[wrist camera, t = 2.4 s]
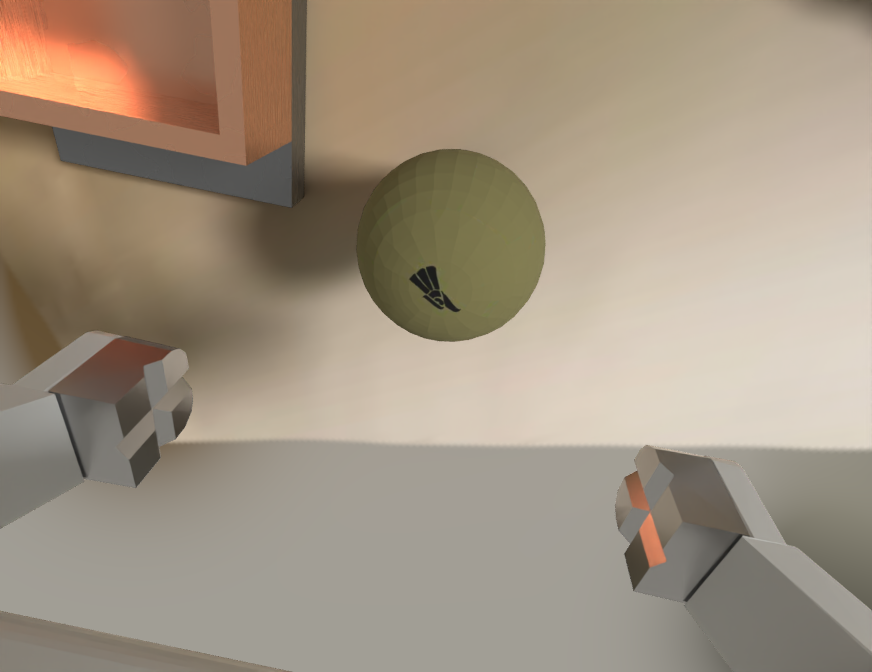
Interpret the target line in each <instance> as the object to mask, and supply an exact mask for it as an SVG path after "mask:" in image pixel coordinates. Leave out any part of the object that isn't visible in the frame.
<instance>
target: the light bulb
mask: <svg viewBox="0 0 872 672" xmlns="http://www.w3.org/2000/svg"><path fill="white" fill-rule="evenodd" d="M356 250H357V257H358V265H359V270H360V273H361V276H362V279H363V282H364V285H365V287H366V289H367V291H368V293H369V294H370V296H371V298H372V300H373V301H374V302H375V304H376V305H377V306H378V307H379V308H380V309H381V311H382V312H383V313H384V314H385V315H386V316H387V317H389V318H390V319H391V320H392V321H393V322H394V323H396V324H397V325H398V326H400V327H402V328H403V329H405V330H407V331H408V332H410V333H412V334H415V335H418V336H420V337H423V338H426V339H431V340H436V341H450V342H455V341H463V340H469V339H473V338H476V337H479V336H482V335H485V334H488V333H490V332H492V331H494V330H496V329H498V328H500V327H502V326H503V325H504V324H505V323H507V322H508V321H509V320H510V319H512V318H513V317H514V316H515V315H516V314H517V313H518V312H519V310H520V309H521V308H522V307H523V306H524V305H525V303H526V302H527V301H528V300H529V298H530V296H531V294H532V293H533V291H534V289H535V287H536V285H537V283H538V280H539V277H540V274H541V271H542V268H543V264H544V255H545V231H544V226H543V222H542V219H541V216H540V213H539V210H538V207H537V204H536V202H535V200H534V198H533V197H532V195H531V193H530V192H529V190H528V188H527V187H526V185H525V184H524V183H523V182H522V181H521V180H520V179H519V178H518V177H517V176H516V175H515V174H514V173H513V172H512V171H511V170H510V169H508V168H507V167H505V166H504V165H502V164H501V163H499V162H498V161H496V160H494V159H492V158H490V157H488V156H485V155H483V154H480V153H476V152H472V151H467V150H461V149H442V150H436V151H432V152H427V153H423V154H420V155H418V156H416V157H413V158H411V159H409V160H407V161H405V162H403V163H402V164H400V165H399V166H398V167H396V168H395V169H394V170H392V171H391V172H390V173H389V174H388V175H387V176H386V177H385V178H384V179H383V180H382V181H381V182H380V183H379V184H378V186H377V187H376V188H375V189H374V191H373V193H372V194H371V196H370V198H369V200H368V202H367V204H366V205H365V207H364V210H363V213H362V216H361V220H360V223H359V227H358V234H357V249H356Z"/></svg>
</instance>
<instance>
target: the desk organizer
mask: <svg viewBox="0 0 872 672" xmlns="http://www.w3.org/2000/svg"><path fill="white" fill-rule="evenodd" d="M306 14H307V0H0V116H4V117H9V118H14V119H19V120H24V121H29V122H33V123H38V124H43V125H48V126H52V128H53V132H54V136H55V140H56V143H57V147H58V151H59V155H60V159H61V161H66V162H70V163H75V164H80V165H85V166H90V167H95V168H100V169H105V170H110V171H115V172H119V173H124V174H129V175H134V176H139V177H144V178H149V179H154V180H159V181H164V182H168V183H173V184H178V185H183V186H188V187H193V188H198V189H203V190H208V191H212V192H217V193H222V194H227V195H232V196H237V197H242V198H247V199H252V200H257V201H261V202H266V203H271V204H276V205H281V206H286V207H291V208H292V207H293V206H294V205H295V204H296V203H298V202H299V201H300V200H301V199H302V198H303V197H304V153H305V84H306Z"/></svg>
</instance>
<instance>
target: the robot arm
mask: <svg viewBox="0 0 872 672" xmlns="http://www.w3.org/2000/svg"><path fill="white" fill-rule="evenodd" d="M188 369H189V366H188V360H187V355H186V353H185V352H184V351H182V350H181V349H179V348H175V347H170V346H166V345H162V344H157V343H153V342H149V341H144V340H140V339H136V338H131V337H127V336H120V335H116V334H112V333H107V332H103V331H98V330H97V331H90V332H86V333H85V334H83V335H82V336H80V337H79V338H78V339H76V340H75V341H73V342H72V343H71V344H69V345H68V346H66V347H65V348H63V349H62V350H61V351H59V352H58V353H56V354H55V355H53V356H52V357H51V358H49V359H48V360H46V361H45V362H44V363H42V364H41V365H39V366H38V367H36V368H35V369H34V370H32V371H31V372H29V373H28V374H26V375H25V376H24V377H22V378H21V379H20V380H18V381H17V382H15V383H14V384H12V385H9V384H4V383H0V529H1V528H3V527H4V526H6V525H8V524H10V523H11V522H13V521H15V520H17V519H18V518H20V517H22V516H24V515H26V514H27V513H29V512H31V511H33V510H35V509H36V508H38V507H40V506H42V505H44V504H45V503H47V502H49V501H50V500H52V499H54V498H56V497H58V496H59V495H61V494H63V493H65V492H67V491H69V490H70V489H72V488H74V487H76V486H77V485H79V484H81V483H83V482H84V479H88V480H94V481H100V482H106V483H111V484H116V485H122V486H127V487H133V488H136V487H137V486H138V485H139V484H140V482H141V481H142V480H143V479H144V477H145V476H146V475H147V474H148V473H149V471H150V470H151V469H152V468H153V467H154V465H155V464H156V463H157V462H158V460H159V459H160V448H159V447H160V446H162V445H164V444H166V443H168V442H170V441H173V440H175V439H176V438H177V437H178V435H179V434H180V433H181V432H182V430H183V429H184V428H185V426H186V424H187V421H188V419H189V416H190V414H191V412H192V404H193V395H192V388H191V387H190V386H189V384H188V383H187V382H186V381H185V380H184V378H183V377H182V376H183V375H184V374H185V372H186V371H187V370H188ZM634 461H635V464H636V468H637V471H636V472H634V473H632V474H630V475H628V476H626V477H625V478H624V479H623V481H622V483H621V485H620V487H619V489H618V492H617V498H616V504H615V512H616V520H617V525H618V530H619V531H620V533H621V534H622V535H623V536H624V537H625V538H626V540H627V541H628V542H629V543H630V545H629V547H628V548H627V550H626V552H625V553H624V555H625V559H626V563H627V567H628V571H629V575H630V579H631V582H632V587H633V591H635V592H639V593H643V594H648V595H652V596H656V597H660V598H665V599H669V600H673V601H677V602H682V603H686V604H685V605H684V606H685V608H686V609H687V610H688V612H689V613H690V614H691V615H692V617H693V619H694V620H695V621H696V623H697V624H698V625H699V627H700V628H701V629H702V631H703V632H704V633H705V635H706V636H707V637H708V639H709V640H710V642H711V643H712V644H713V646H714V647H715V648H716V650H717V651H718V652H719V654H720V655H721V657H722V658H723V659H724V661H725V662H726V663H727V665H728V666H729V667H730V669H731V670H732V671H733V672H872V610H870V609H869V608H868V607H867V606H866V605H864V604H863V603H862V602H861V601H860V600H859V599H857V598H856V597H855V596H854V595H852V594H851V593H850V592H849V591H848V590H847V589H846V588H844V587H843V586H842V585H841V584H840V583H838V582H837V581H836V580H835V579H834V578H833V577H831V576H830V575H829V574H828V573H826V572H825V571H824V570H823V569H822V568H821V567H820V566H818V565H817V564H816V563H815V562H814V561H812V560H811V559H810V558H809V557H808V556H807V555H805V554H804V553H803V552H802V551H801V550H799V549H798V548H797V547H794V546H790V545H786V543H785V541H784V540H783V538H782V536H781V534H780V533H779V531H778V529H777V527H776V526H775V524H774V522H773V520H772V518H771V517H770V515H769V514H768V511H767V510H766V508H765V506H764V504H763V503H762V501H761V499H760V497H759V496H758V494H757V492H756V490H755V489H754V487H753V485H752V483H751V482H750V480H749V478H748V476H747V475H746V473H745V471H744V469H743V468H742V467H741V466H740V465H739V464H738V463H736V462H735V461H731V460H725V459H720V458H715V457H709V456H700V455H696V454H690V453H686V452H680V451H676V450H671V449H666V448H661V447H656V446H650V445H646V446H644V447H643V448H642V449H641V450H640V451H639V453H638V455H637V456H636V458H635V459H634ZM0 672H291V671H286V670H281V669H276V668H272V667H267V666H262V665H257V664H253V663H248V662H243V661H238V660H233V659H229V658H224V657H219V656H214V655H210V654H205V653H200V652H195V651H190V650H185V649H181V648H176V647H171V646H166V645H161V644H157V643H152V642H147V641H142V640H138V639H133V638H128V637H123V636H119V635H113V634H109V633H104V632H99V631H94V630H90V629H85V628H80V627H75V626H71V625H66V624H61V623H56V622H51V621H46V620H42V619H37V618H32V617H28V616H23V615H17V614H13V613H8V612H4V611H0Z"/></svg>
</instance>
